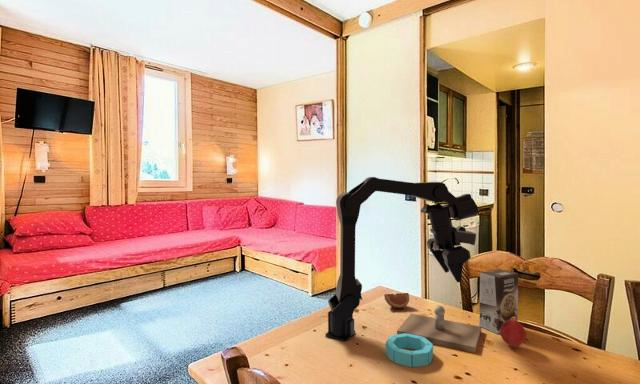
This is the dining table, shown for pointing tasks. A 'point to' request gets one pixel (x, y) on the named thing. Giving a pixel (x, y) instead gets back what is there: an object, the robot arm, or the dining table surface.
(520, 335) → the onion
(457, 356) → the dining table surface
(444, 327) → the hook board
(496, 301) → the coffee box
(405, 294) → the fruit slice
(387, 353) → the teal octagonal ring
